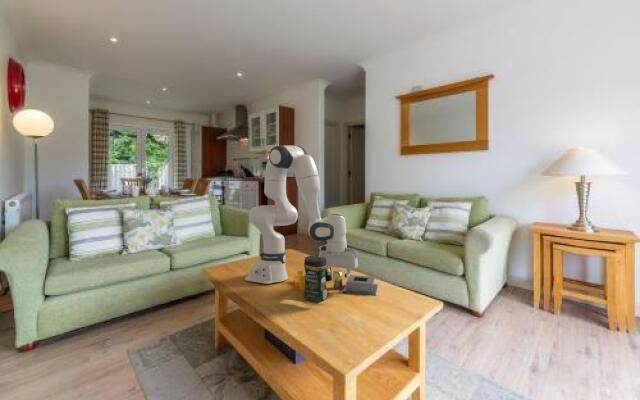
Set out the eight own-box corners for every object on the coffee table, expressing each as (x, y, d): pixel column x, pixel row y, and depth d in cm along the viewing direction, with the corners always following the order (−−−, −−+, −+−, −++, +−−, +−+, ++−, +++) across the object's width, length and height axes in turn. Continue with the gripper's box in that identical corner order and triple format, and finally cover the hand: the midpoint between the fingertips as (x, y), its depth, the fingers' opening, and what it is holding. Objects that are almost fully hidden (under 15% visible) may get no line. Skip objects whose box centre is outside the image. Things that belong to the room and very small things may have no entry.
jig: (342, 292, 131) (342, 282, 131) (347, 283, 145) (347, 274, 145) (375, 295, 128) (375, 284, 128) (377, 285, 141) (377, 276, 141)
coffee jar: (301, 299, 123) (300, 256, 123) (311, 294, 130) (311, 253, 130) (319, 303, 118) (319, 259, 118) (329, 298, 125) (329, 255, 124)
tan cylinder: (332, 289, 137) (332, 272, 137) (334, 286, 141) (334, 270, 141) (341, 289, 136) (341, 273, 135) (343, 287, 140) (343, 270, 140)
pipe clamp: (293, 282, 148) (293, 270, 148) (302, 282, 149) (302, 270, 148) (296, 290, 136) (296, 276, 136) (305, 289, 137) (305, 276, 137)
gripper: (360, 247, 134) (360, 277, 133) (323, 245, 145) (324, 272, 145) (353, 249, 128) (354, 280, 128) (316, 246, 140) (317, 275, 139)
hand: (338, 276), depth 136 cm, fingers open, 8 cm apart
